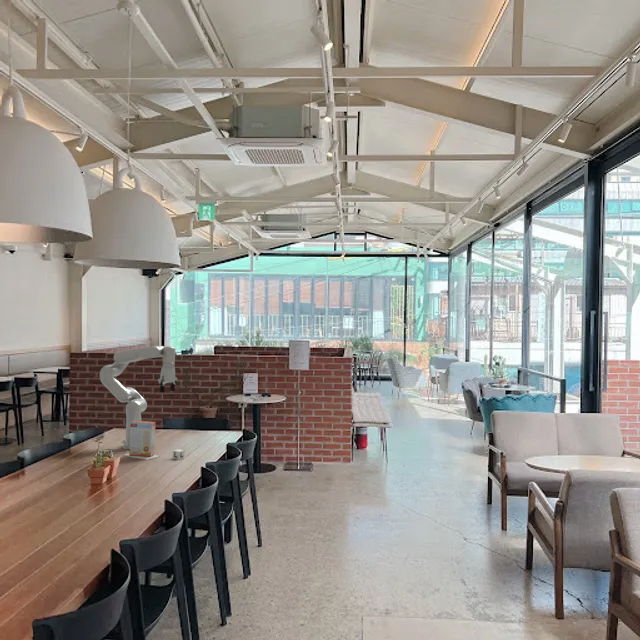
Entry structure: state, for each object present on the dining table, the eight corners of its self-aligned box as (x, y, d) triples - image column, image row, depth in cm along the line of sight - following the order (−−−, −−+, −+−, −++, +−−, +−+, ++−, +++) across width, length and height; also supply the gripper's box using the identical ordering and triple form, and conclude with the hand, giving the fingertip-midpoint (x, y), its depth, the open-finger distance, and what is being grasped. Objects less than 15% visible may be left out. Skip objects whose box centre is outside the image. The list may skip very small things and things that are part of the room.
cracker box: (154, 455, 370) (156, 421, 370) (150, 457, 364) (152, 423, 364) (133, 453, 372) (134, 420, 372) (128, 455, 366) (130, 421, 366)
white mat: (123, 455, 367) (123, 454, 367) (136, 452, 377) (136, 451, 377) (147, 460, 359) (147, 459, 359) (159, 457, 368) (159, 456, 368)
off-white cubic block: (172, 458, 366) (172, 450, 366) (178, 457, 371) (178, 449, 371) (178, 459, 364) (179, 451, 364) (184, 458, 368) (184, 450, 368)
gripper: (173, 364, 398) (171, 390, 398) (154, 365, 383) (153, 392, 382) (181, 365, 395) (180, 391, 394) (163, 366, 379) (162, 393, 379)
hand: (167, 391), depth 388 cm, fingers open, 9 cm apart
